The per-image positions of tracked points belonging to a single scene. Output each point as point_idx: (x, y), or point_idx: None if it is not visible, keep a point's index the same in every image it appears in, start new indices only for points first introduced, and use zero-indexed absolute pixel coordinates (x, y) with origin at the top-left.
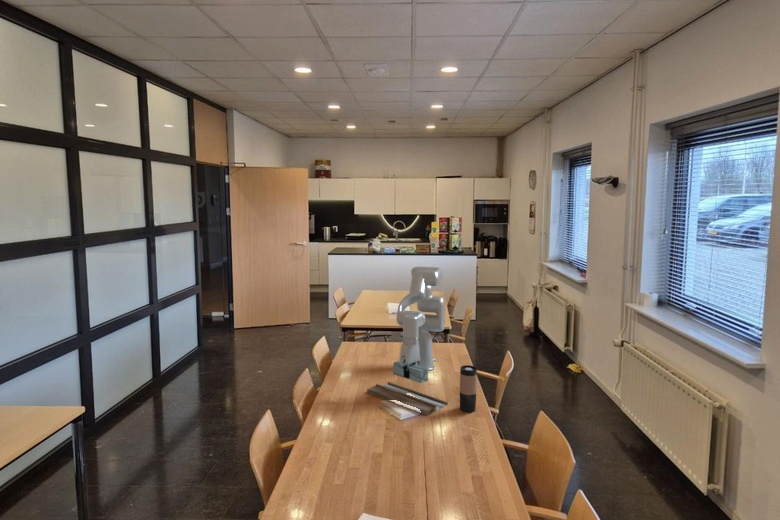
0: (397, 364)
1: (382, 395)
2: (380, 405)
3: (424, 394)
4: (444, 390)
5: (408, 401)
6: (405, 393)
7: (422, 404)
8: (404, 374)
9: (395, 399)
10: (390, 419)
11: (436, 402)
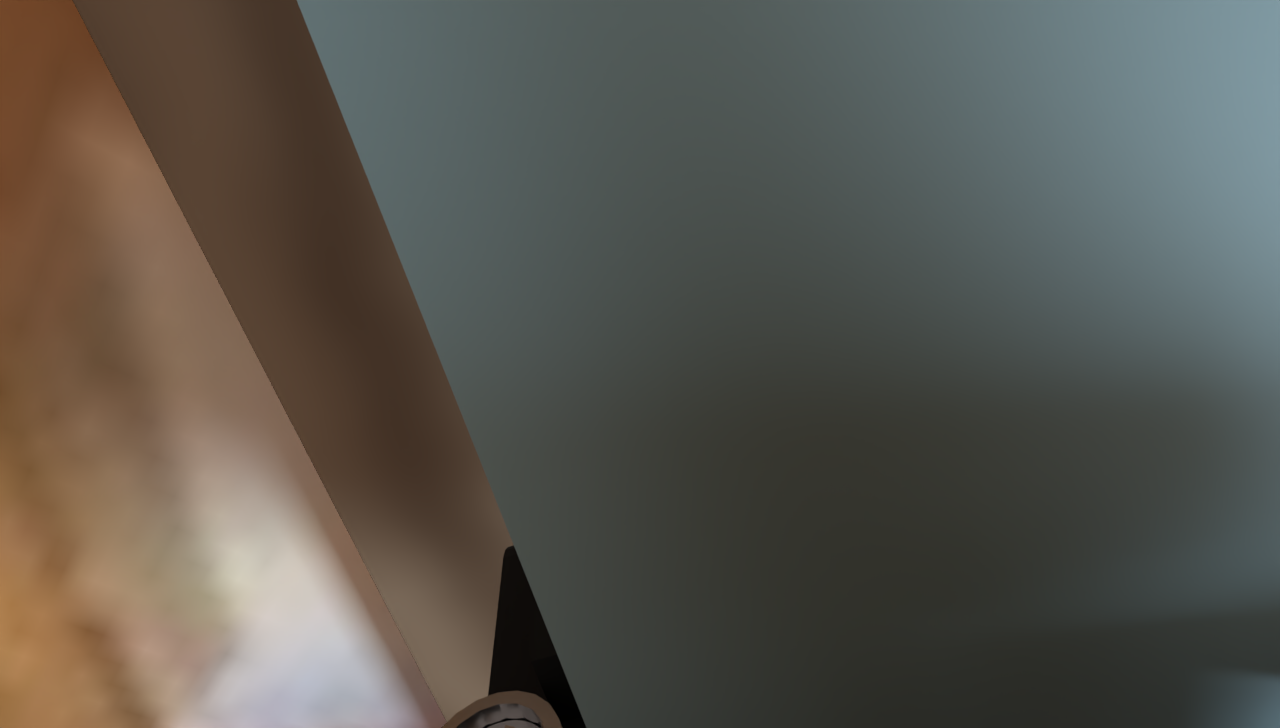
0: (355, 91)
1: (105, 43)
2: (9, 293)
3: None
4: None
5: (454, 548)
6: None
7: None
8: (507, 602)
9: (280, 392)
10: (31, 709)
11: None
